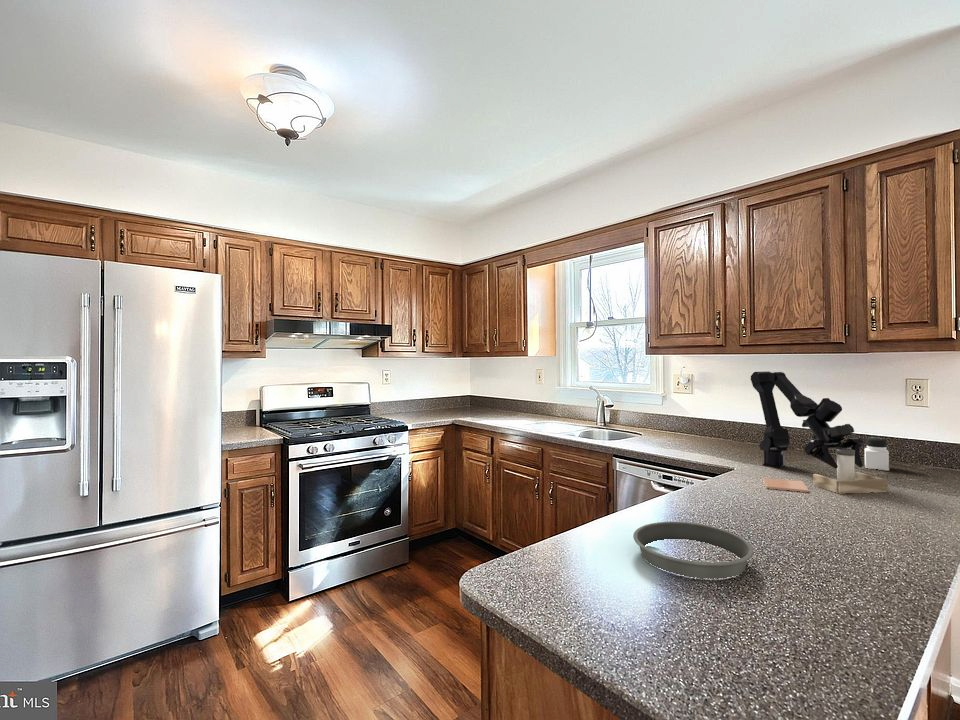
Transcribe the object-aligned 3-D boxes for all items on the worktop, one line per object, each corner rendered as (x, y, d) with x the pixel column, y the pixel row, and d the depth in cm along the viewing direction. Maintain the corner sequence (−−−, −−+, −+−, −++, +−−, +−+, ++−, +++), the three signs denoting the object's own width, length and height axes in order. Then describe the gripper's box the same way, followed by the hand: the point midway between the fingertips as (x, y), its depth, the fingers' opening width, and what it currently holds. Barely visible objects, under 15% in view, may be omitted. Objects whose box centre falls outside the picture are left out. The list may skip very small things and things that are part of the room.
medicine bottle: (889, 471, 180) (889, 440, 180) (865, 468, 184) (865, 438, 184) (887, 467, 186) (887, 437, 186) (864, 465, 190) (864, 435, 190)
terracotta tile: (763, 480, 170) (763, 478, 170) (802, 483, 164) (802, 481, 164) (766, 488, 159) (766, 486, 159) (808, 492, 154) (808, 490, 154)
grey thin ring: (654, 531, 123) (654, 514, 123) (762, 555, 107) (762, 535, 107) (616, 564, 104) (616, 543, 104) (741, 598, 88) (740, 574, 88)
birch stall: (813, 485, 162) (813, 474, 162) (858, 483, 164) (857, 471, 164) (839, 494, 151) (839, 482, 151) (887, 491, 153) (887, 479, 153)
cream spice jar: (835, 487, 159) (834, 449, 159) (838, 484, 162) (837, 447, 162) (853, 490, 155) (853, 451, 155) (856, 487, 159) (856, 449, 159)
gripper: (810, 416, 162) (838, 454, 151) (858, 415, 164) (890, 452, 153) (793, 435, 170) (818, 473, 159) (839, 434, 172) (868, 471, 161)
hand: (849, 467), depth 157 cm, fingers open, 9 cm apart
